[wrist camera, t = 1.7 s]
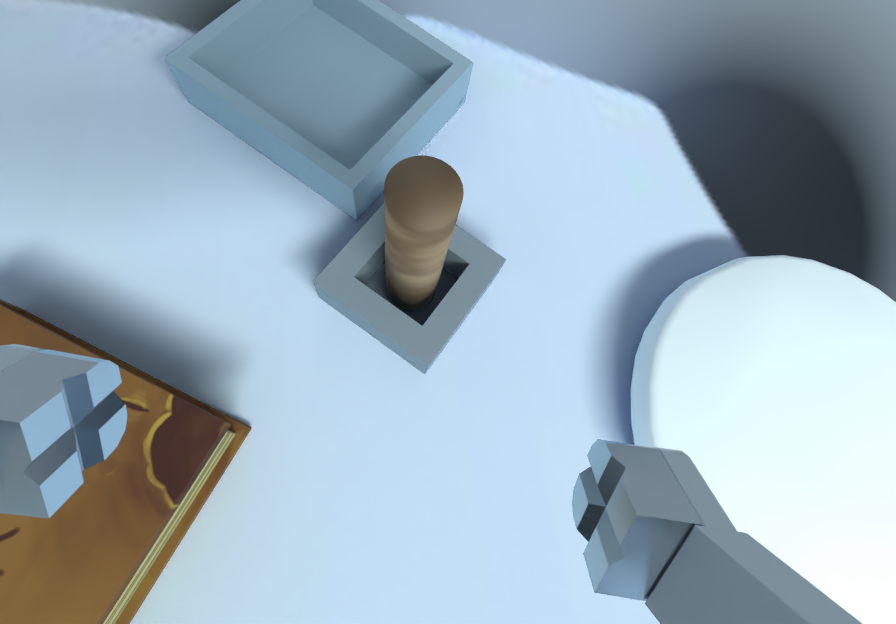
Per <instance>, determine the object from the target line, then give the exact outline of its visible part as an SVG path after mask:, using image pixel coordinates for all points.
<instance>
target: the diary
mask: <svg viewBox="0 0 896 624" xmlns="http://www.w3.org/2000/svg"><path fill="white" fill-rule="evenodd" d="M10 344H19V345H24V346H30V347H36V348H41V349H45V350H46V349H49V350H55V351H60V352H66V353H71V354H76V355H82V356H87V357H93V358H98V359H104V360H109V361H111V362H113V363H114V364H116V365H118V367H119V371H120V376H121V380H122V383H121V384H120V385H119V387H118V388H117V389H116V390H115V391H114V392H115V393H116V394H117V395H118V396H119V397H120V398H121V400H122V401H123V402H124V403H125V404H126V410H127V422H126V429H125V432H124V434H123V436H122V438H121V440H120V442H119V444H118V446H117V447H116V448H115V449H114V451H113V452H112V453H111V454H110V455H109V456H108V457H107V458H106V459H105V460H104V461H102V462H100V463H98V464H96V465H93V466H91V467H89V468H87V469H85V470H84V483H83V484H82V485H81V486H80V487H79V488H78V489H77V490H76V491H75V492H74V493H73V494H72V495H71V496H70V497H69V498H68V499H67V500H66V502H65V503H64V504H63V505H62V506H61V507H60V508H59V509H58V510H57V511H56V512H55V513H54V514H53V515H52V516H51V517H50V518H41V517H31V516H22V515H13V514H3V513H0V624H130V622H131V620H132V619H133V617H134V616H135V614H136V612H137V611H138V609H139V608H140V606H141V604H142V603H143V601H144V600H145V598H146V596H147V595H148V593H149V592H150V590H151V588H152V587H153V585H154V584H155V582H156V580H157V579H158V577H159V576H160V574H161V572H162V571H163V569H164V568H165V566H166V564H167V563H168V561H169V560H170V558H171V556H172V555H173V553H174V552H175V550H176V548H177V547H178V545H179V544H180V542H181V540H182V539H183V537H184V536H185V534H186V532H187V531H188V529H189V528H190V526H191V524H192V523H193V521H194V520H195V518H196V516H197V515H198V513H199V512H200V510H201V508H202V507H203V505H204V504H205V502H206V500H207V499H208V497H209V496H210V494H211V492H212V491H213V489H214V488H215V486H216V484H217V483H218V481H219V480H220V478H221V476H222V475H223V473H224V472H225V470H226V468H227V467H228V465H229V464H230V462H231V460H232V459H233V457H234V456H235V454H236V452H237V451H238V449H239V448H240V446H241V444H242V443H243V441H244V440H245V438H246V436H247V435H248V433H249V432H250V430H251V428H250V427H248V426H246V425H244V424H242V423H240V422H239V421H237V420H235V419H233V418H231V417H229V416H227V415H225V414H223V413H221V412H219V411H217V410H215V409H214V408H212V407H210V406H208V405H206V404H204V403H202V402H200V401H198V400H196V399H194V398H192V397H190V396H189V395H187V394H185V393H183V392H181V391H179V390H177V389H175V388H173V387H171V386H169V385H167V384H165V383H164V382H162V381H160V380H158V379H156V378H154V377H152V376H150V375H148V374H146V373H144V372H142V371H140V370H139V369H137V368H135V367H133V366H131V365H129V364H127V363H125V362H123V361H121V360H119V359H117V358H116V357H114V356H112V355H110V354H108V353H106V352H104V351H102V350H100V349H98V348H96V347H94V346H92V345H91V344H89V343H87V342H85V341H83V340H81V339H79V338H77V337H75V336H73V335H71V334H69V333H67V332H66V331H64V330H62V329H60V328H58V327H56V326H54V325H52V324H50V323H48V322H46V321H44V320H42V319H41V318H39V317H37V316H35V315H33V314H31V313H29V312H27V311H25V310H23V309H21V308H19V307H17V306H15V305H12V304H10V303H7V302H5V301H2V300H0V346H1V345H10Z"/></svg>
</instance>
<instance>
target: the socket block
mask: <svg viewBox="0 0 896 624" xmlns="http://www.w3.org/2000/svg"><path fill="white" fill-rule="evenodd" d="M384 261H385V220H384V203H383V204H382V205H381V206H380V208H379V209H378V210H377V211H376V212H375V213H374V214H373V215H372V216H371V218H370V219H369V220H368V221H367V222H366V223H365V224H364V225H363V226H362V228H361V229H360V230H359V231H358V232H357V233H356V234H355V235H354V236H353V238H352V239H351V240H350V241H349V242H348V243H347V244H346V245H345V246H344V248H343V249H342V250H341V251H340V252H339V253H338V254H337V255H336V256H335V258H334V259H333V260H332V261H331V262H330V263H329V264H328V265H327V266H326V268H325V269H324V270H323V271H322V272H321V273H320V274H319V275H318V276H317V277H316V279H315V280H314V281H313V283H314V285H315V288H316V290H317V292H318V294H319V297H320V298H321V299H322V300H323V301H325V302H326V303H328V304H329V305H330V306H332V307H333V308H334V309H336V310H337V311H339V312H340V313H341V314H343V315H344V316H345V317H347V318H348V319H350V320H351V321H352V322H354V323H355V324H356V325H358V326H359V327H361V328H362V329H363V330H365V331H366V332H367V333H369V334H370V335H372V336H373V337H374V338H376V339H377V340H379V341H380V342H381V343H383V344H384V345H385V346H387V347H388V348H390V349H391V350H392V351H394V352H395V353H396V354H398V355H399V356H401V357H402V358H403V359H405V360H406V361H407V362H409V363H410V364H412V365H413V366H414V367H416V368H417V369H418V370H420V371H421V372H423V373H424V374H425V373H426V372H427V370H428V369H429V368H430V366H431V365H432V364H433V362H434V361H435V360H436V358H437V357H438V355H439V354H440V353H441V351H442V350H443V349H444V347H445V346H446V344H447V343H448V342H449V340H450V339H451V338H452V336H453V335H454V333H455V332H456V331H457V329H458V328H459V327H460V325H461V324H462V322H463V321H464V320H465V318H466V317H467V316H468V314H469V313H470V311H471V310H472V309H473V307H474V306H475V305H476V303H477V302H478V300H479V299H480V298H481V296H482V295H483V294H484V292H485V291H486V289H487V288H488V287H489V285H490V284H491V283H492V281H493V280H494V278H495V277H496V275H497V274H498V272H499V271H500V269H501V267H502V266H503V264H504V262H505V261H506V259H505V258H503V257H502V256H500V255H499V254H497V253H496V252H494V251H493V250H492V249H490V248H489V247H487V246H486V245H484V244H483V243H481V242H480V241H479V240H477V239H476V238H474V237H473V236H471V235H470V234H468V233H467V232H466V231H464V230H463V229H461V228H460V227H458V226H457V225H455V227H454V230H453V234H452V237H451V241H450V244H449V247H448V251H447V254H446V258H445V261H444V265H443V268H445V269H446V270H447V271H449V272H450V273H452V274H453V275H455V276H456V277H457V278H459V279H458V280H457V281H456V282H455V284H454V285H453V286H452V288H451V289H450V290H449V292H448V293H447V294H446V296H445V297H444V298H443V299H442V301H441V302H440V303H439V305H438V306H437V307H436V309H435V310H434V311H433V313H432V314H431V315H430V317H429V318H428V319H427V320H426V322H425V323H424V324H423V326H422V325H420V324H419V323H418V322H416V321H415V320H413V319H412V318H411V317H409V316H408V315H406V314H405V313H404V312H402V311H401V310H399V309H398V308H397V307H395V306H394V305H392V304H391V303H390V302H388V301H387V300H385V299H384V298H383V297H381V296H380V295H378V294H377V293H376V292H374V291H373V290H372V289H370V288H369V287H367V286H366V285H365V284H366V283H367V281H368V280H369V279H370V278H371V277H372V275H373V274H374V273H375V272H376V271H377V270H378V268H379V267H380V266H381V265H382V264H383V262H384Z"/></svg>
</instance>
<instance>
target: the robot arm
mask: <svg viewBox="0 0 896 624" xmlns="http://www.w3.org/2000/svg"><path fill="white" fill-rule="evenodd" d="M121 383H122V380H121V376H120V371H119V367H118V365H116V364H114V363H113V362H111V361H109V360H104V359H98V358H93V357H87V356H82V355H76V354H71V353H66V352H60V351H55V350H49V349H46V350H45V349H41V348H36V347H30V346H24V345H19V344H10V345H1V346H0V513H3V514H13V515H22V516H31V517H41V518H50V517H51V516H52V515H53V514H54V513H55V512H56V511H57V510H58V509H59V508H60V507H61V506H62V505H63V504H64V503H65V502H66V500H67V499H68V498H69V497H70V496H71V495H72V494H73V493H74V492H75V491H76V490H77V489H78V488H79V487H80V486H81V485H82V484H83V483H84V470H85V469H87V468H89V467H91V466H93V465H96V464H98V463H100V462H102V461H104V460H105V459H106V458H107V457H108V456H109V455H110V454H111V453H112V452H113V451H114V449H115V448H116V447H117V446H118V444H119V442H120V440H121V438H122V436H123V434H124V432H125V429H126V422H127V410H126V404H125V403H124V402H123V401H122V400H121V398H120V397H119V396H118V395H117V394H116V393H115V392H114V391H115V390H116V389H117V388H118V387H119V385H120V384H121ZM587 456H588V459H589V462H590V465H591V467H589V468H588V469H586V470H585V471H583V472H582V473H580V474H579V476H578V478H577V481H576V484H575V486H574V491H573V500H572V507H573V517H574V520H575V524H576V528H577V530H578V531H579V532H580V533H581V534H582V535H583V536H584V538H585V539H586V540H587V541H588V545H587V547H586V549H585V551H584V553H583V554H584V557H585V561H586V564H587V568H588V572H589V575H590V579H591V582H592V586H593V589H594V592H595V593H601V594H607V595H613V596H619V597H625V598H631V599H637V600H643V601H646V603H645V604H646V606H647V607H648V608H649V610H650V611H651V612H652V613H653V615H654V616H655V617H656V619H657V620H658V621H659V622H660V624H862V623H861V622H860V621H859V620H857V619H856V618H855V617H853V616H852V615H851V614H850V613H848V612H847V611H846V610H844V609H843V608H842V607H841V606H839V605H838V604H837V603H836V602H834V601H833V600H832V599H830V598H829V597H828V596H827V595H825V594H824V593H823V592H822V591H820V590H819V589H818V588H816V587H815V586H814V585H813V584H811V583H810V582H809V581H807V580H806V579H805V578H804V577H802V576H801V575H800V574H799V573H797V572H796V571H795V570H793V569H792V568H791V567H790V566H788V565H787V564H786V563H784V562H783V561H782V560H781V559H779V558H778V557H777V556H776V555H774V554H773V553H772V552H770V551H769V550H768V549H767V548H765V547H764V546H763V545H762V544H760V543H759V542H758V541H756V540H755V539H754V538H753V537H751V536H750V535H749V534H747V533H744V532H738V531H737V530H736V529H735V527H734V525H733V524H732V522H731V521H730V519H729V518H728V516H727V515H726V513H725V511H724V510H723V508H722V507H721V505H720V504H719V502H718V500H717V499H716V497H715V496H714V494H713V493H712V491H711V490H710V488H709V486H708V485H707V483H706V482H705V480H704V479H703V477H702V476H701V474H700V472H699V471H698V469H697V468H696V466H695V465H694V463H693V462H692V460H691V458H690V457H689V456H688V455H687V454H685V453H684V452H683V451H680V450H672V449H665V448H658V447H653V448H651V447H646V446H639V445H633V444H626V443H620V442H613V441H607V440H600V439H598V440H597V441H596V442H595V443H594V444H593V445H592V447H591V449H590V451H589V453H588V455H587Z"/></svg>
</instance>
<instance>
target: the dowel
mask: <svg viewBox="0 0 896 624" xmlns="http://www.w3.org/2000/svg"><path fill="white" fill-rule="evenodd" d="M462 200H463V185H462V182H461V180H460V177H459V176H458V174H457V173H456V172H455V170H454V169H453V168H452V167H451V166H449V165H448V164H447V163H445V162H444V161H442V160H440V159H437V158H434V157H430V156H412V157H408V158H406V159H403V160H401V161H399V162H398V163H397V164H395V165H394V166H393V167H392V168H391V170H390V171H389V172H388V174H387V176H386V179H385V183H384V220H385V284H386V293H387V296H388V298H389V300H390V301H391V302H392V303H393V304H394V305H395V306H396V307H398V308H400V309H402V310H406V311H416V310H420V309H422V308H424V307H426V306H427V305H428V304H429V303H430V302H431V301H432V299H433V298H434V295H435V292H436V288H437V285H438V282H439V278H440V275H441V271H442V268H443V265H444V261H445V258H446V254H447V251H448V247H449V244H450V241H451V237H452V234H453V230H454V227H455V224H456V220H457V217H458V213H459V210H460V207H461V203H462Z"/></svg>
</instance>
